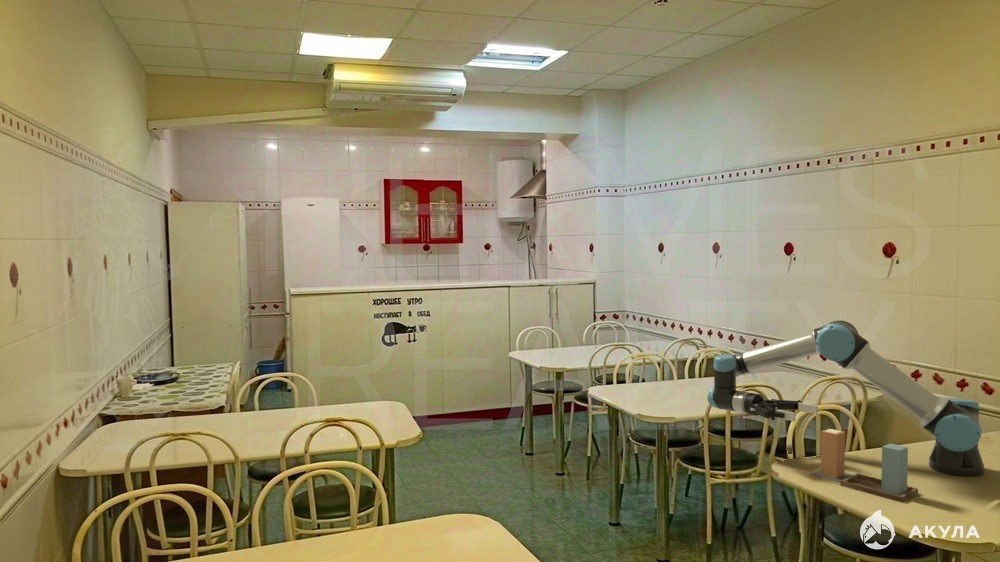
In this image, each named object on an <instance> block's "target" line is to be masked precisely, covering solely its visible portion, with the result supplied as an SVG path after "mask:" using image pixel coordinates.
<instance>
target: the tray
mask: <svg viewBox="0 0 1000 562" xmlns="http://www.w3.org/2000/svg"><path fill="white" fill-rule="evenodd" d="M852 475H853V476H851V477H848V478H846V479H844V480H841V481H840V483H839V484H840V487H844V488H848V489H851V490H854V491H859V492H862V493H866V494H869V495H873V496H877V497H880V498H882V499H883V498H884V499H887V500H891V501H894V502H899V503H903V502H905V501H907V500H909V499H911V498H913V497H915V496H916V495H918V494H919V488H917V487H912V486H908V485H907V493H905V494H903V495H901V496H898V495H894V494H890V493H887V492H883V491H881V483H882V478H881V479H880V478H877V477H873V476H869V475H865V474H861V473H855V474H852Z"/></svg>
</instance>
